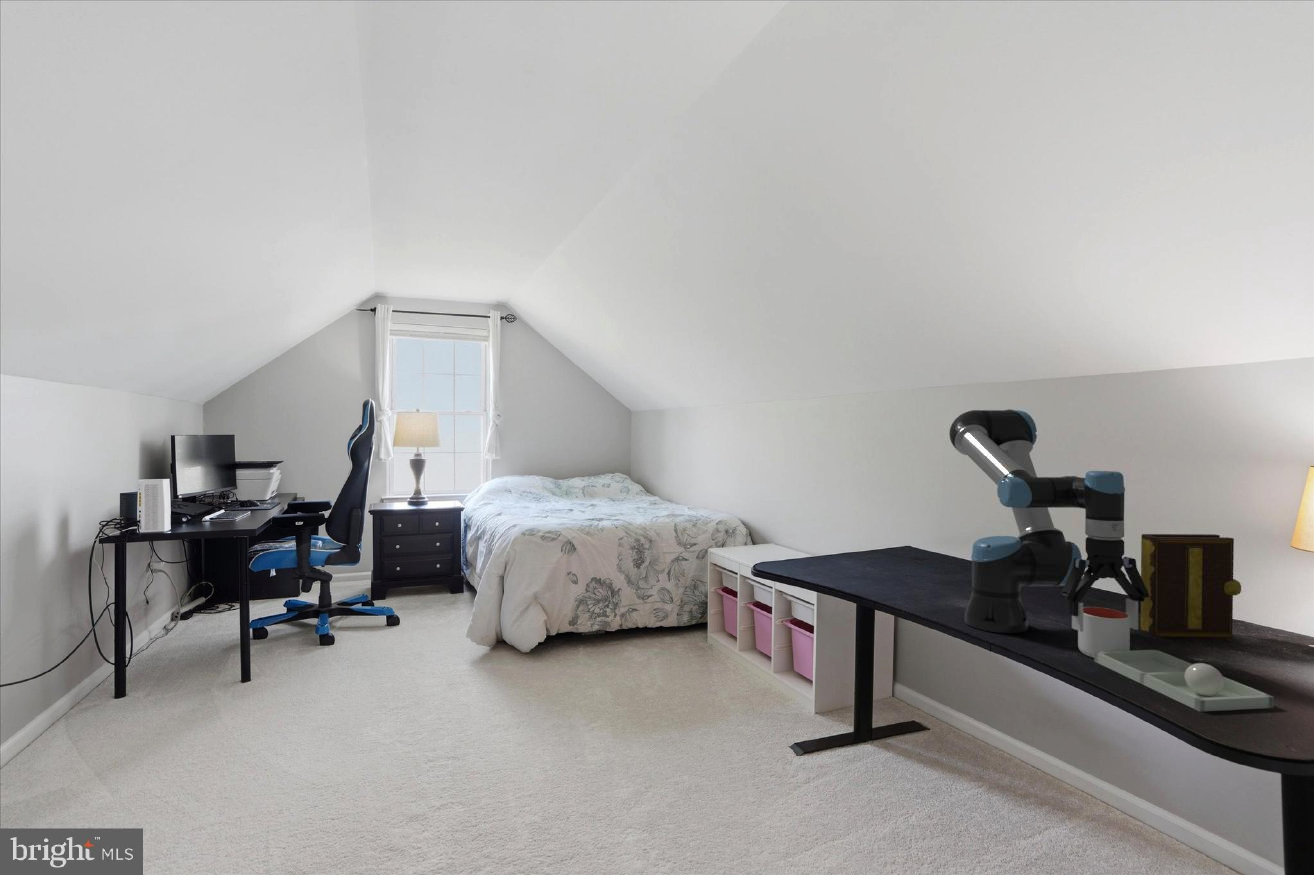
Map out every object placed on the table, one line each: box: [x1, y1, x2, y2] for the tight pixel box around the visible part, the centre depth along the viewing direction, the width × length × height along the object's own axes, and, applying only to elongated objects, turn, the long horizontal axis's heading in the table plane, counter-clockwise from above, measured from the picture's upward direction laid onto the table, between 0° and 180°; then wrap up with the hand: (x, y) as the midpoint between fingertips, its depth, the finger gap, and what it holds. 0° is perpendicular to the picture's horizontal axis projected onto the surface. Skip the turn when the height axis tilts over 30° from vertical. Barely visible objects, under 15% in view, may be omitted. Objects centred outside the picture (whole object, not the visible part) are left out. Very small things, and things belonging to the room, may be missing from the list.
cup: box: [1077, 606, 1131, 659], centre depth 156 cm, size 10×10×10 cm
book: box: [1139, 533, 1242, 639], centre depth 171 cm, size 22×8×25 cm, turn 87°
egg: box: [1184, 662, 1224, 696], centre depth 130 cm, size 6×6×6 cm
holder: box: [1093, 649, 1275, 712], centre depth 137 cm, size 26×15×3 cm, turn 5°
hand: (1104, 628), depth 155 cm, fingers open, 13 cm apart
